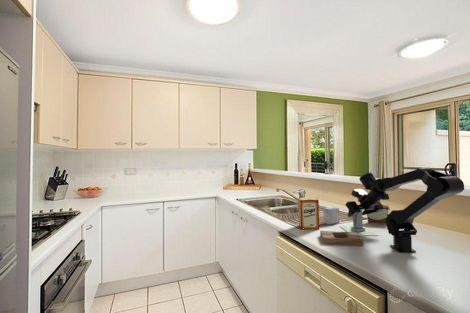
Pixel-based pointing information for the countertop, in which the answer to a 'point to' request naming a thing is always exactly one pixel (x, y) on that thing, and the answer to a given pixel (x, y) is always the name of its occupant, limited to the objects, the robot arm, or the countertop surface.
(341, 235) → the brown rectangular frame
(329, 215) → the medicine box
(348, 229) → the sage mat
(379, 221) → the food container
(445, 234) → the countertop surface
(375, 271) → the countertop surface
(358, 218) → the lever cap
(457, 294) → the countertop surface
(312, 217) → the baking soda box
